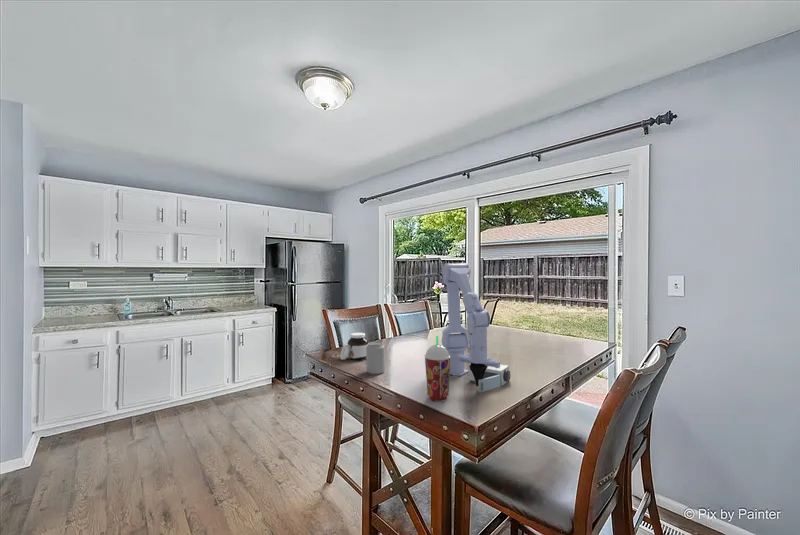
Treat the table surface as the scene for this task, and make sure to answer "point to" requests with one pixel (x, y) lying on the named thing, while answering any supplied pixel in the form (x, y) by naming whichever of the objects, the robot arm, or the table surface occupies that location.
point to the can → (375, 358)
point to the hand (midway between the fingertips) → (478, 385)
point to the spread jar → (355, 347)
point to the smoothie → (437, 372)
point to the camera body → (495, 373)
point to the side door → (489, 383)
